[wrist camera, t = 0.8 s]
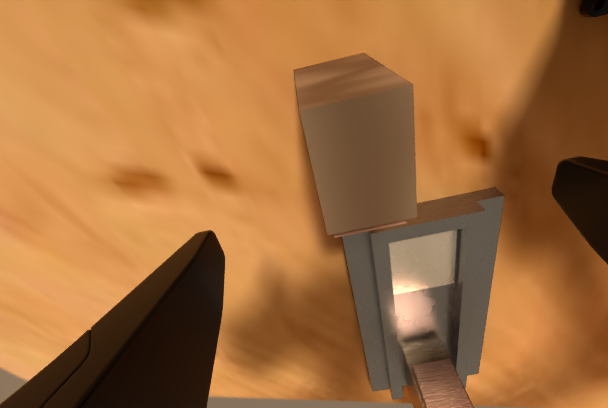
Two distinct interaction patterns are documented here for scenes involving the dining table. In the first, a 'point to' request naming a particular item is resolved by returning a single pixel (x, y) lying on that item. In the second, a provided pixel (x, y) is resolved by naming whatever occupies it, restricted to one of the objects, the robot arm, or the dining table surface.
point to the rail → (427, 296)
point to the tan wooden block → (359, 142)
